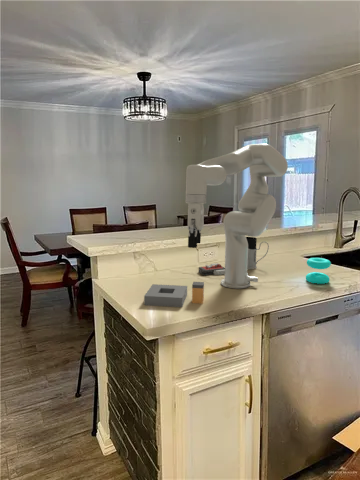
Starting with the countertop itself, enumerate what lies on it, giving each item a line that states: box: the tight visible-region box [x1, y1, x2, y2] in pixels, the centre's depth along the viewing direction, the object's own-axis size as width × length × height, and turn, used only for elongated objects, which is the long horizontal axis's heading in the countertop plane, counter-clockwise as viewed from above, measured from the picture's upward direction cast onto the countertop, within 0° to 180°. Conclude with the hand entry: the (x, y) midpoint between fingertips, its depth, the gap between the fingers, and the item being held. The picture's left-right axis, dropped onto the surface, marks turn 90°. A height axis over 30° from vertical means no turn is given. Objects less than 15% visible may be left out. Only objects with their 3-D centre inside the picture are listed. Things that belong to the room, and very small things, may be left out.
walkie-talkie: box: [198, 262, 225, 276], centre depth 177 cm, size 9×4×20 cm
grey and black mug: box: [245, 236, 270, 270], centre depth 185 cm, size 9×14×15 cm, turn 70°
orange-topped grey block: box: [191, 281, 205, 304], centre depth 138 cm, size 4×4×7 cm
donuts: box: [305, 257, 332, 285], centre depth 162 cm, size 10×10×10 cm
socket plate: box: [143, 283, 188, 308], centre depth 140 cm, size 14×14×4 cm
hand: (194, 245), depth 137 cm, fingers open, 9 cm apart
